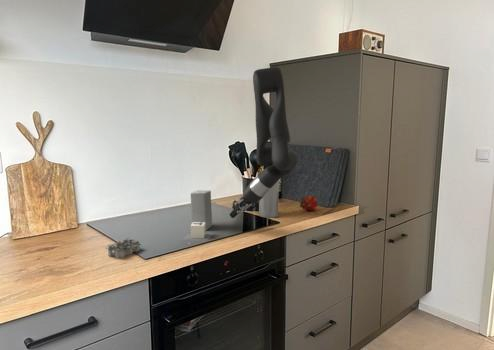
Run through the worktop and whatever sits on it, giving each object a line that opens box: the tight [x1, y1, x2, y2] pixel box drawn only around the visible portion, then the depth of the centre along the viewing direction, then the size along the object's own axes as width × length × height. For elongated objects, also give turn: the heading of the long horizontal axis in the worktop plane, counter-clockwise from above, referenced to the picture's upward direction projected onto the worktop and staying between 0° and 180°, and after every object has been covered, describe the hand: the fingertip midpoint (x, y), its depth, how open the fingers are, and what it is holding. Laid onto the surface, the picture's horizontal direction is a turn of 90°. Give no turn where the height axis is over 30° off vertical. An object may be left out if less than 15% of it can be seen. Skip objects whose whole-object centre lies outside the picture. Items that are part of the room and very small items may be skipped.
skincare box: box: [190, 189, 213, 232], centre depth 154 cm, size 8×7×16 cm
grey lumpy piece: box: [105, 237, 143, 259], centre depth 125 cm, size 11×8×4 cm
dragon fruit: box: [299, 195, 319, 212], centre depth 185 cm, size 8×8×12 cm
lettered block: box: [190, 222, 206, 238], centre depth 143 cm, size 5×5×5 cm
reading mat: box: [181, 231, 215, 242], centre depth 143 cm, size 10×10×1 cm
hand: (231, 216), depth 150 cm, fingers closed
